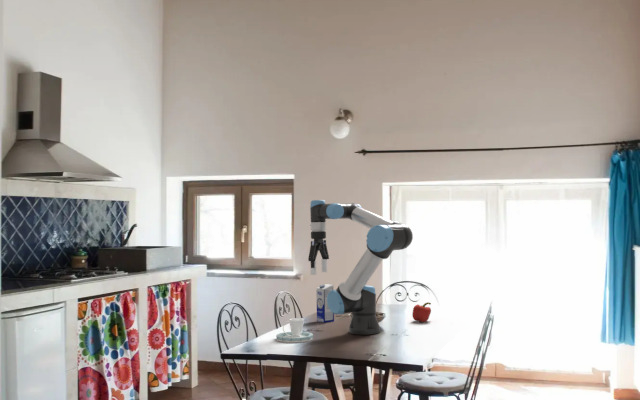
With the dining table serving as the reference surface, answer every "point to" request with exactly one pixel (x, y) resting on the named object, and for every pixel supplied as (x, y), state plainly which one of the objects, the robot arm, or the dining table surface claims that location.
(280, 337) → the saucer
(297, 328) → the cup
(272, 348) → the dining table surface
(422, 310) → the vegetable
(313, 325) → the dining table surface
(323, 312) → the milk carton
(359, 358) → the dining table surface
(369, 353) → the dining table surface
